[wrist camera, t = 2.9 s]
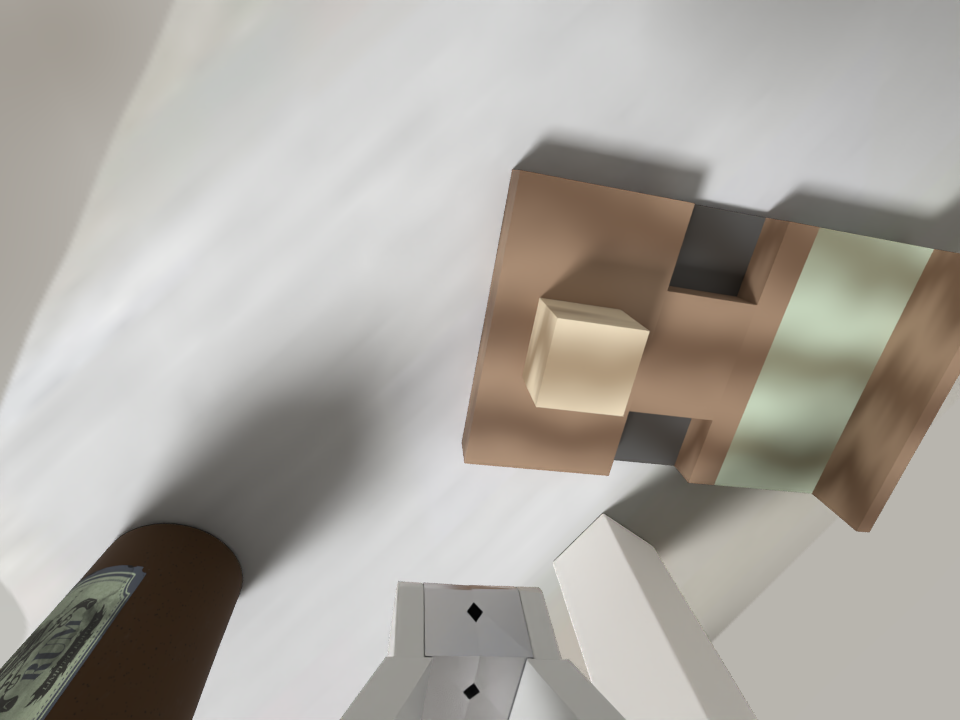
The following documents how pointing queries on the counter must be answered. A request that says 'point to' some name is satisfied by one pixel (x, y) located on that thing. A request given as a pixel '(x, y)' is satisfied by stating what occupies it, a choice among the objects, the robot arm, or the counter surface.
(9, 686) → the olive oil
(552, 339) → the block
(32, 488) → the counter surface
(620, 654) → the milk
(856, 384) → the board
